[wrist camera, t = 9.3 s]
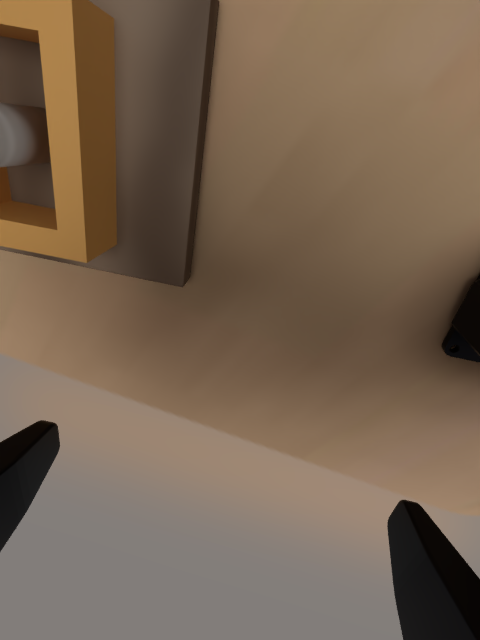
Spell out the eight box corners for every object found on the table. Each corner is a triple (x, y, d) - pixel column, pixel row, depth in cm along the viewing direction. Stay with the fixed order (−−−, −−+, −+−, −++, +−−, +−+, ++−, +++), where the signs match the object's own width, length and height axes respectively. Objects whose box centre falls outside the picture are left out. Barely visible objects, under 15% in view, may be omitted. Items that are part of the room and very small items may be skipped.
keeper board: (218, 2, 14) (163, -113, 8) (190, 277, 19) (144, 341, 13) (-113, -59, 14) (-430, -218, 8) (-46, 228, 20) (-198, 269, 14)
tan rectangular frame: (114, 18, 13) (70, -13, 11) (116, 244, 17) (86, 262, 15) (-50, -11, 13) (-132, -48, 11) (-7, 220, 18) (-58, 234, 15)
